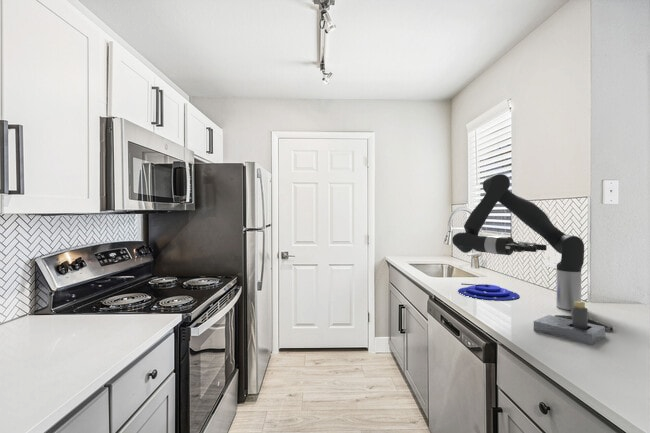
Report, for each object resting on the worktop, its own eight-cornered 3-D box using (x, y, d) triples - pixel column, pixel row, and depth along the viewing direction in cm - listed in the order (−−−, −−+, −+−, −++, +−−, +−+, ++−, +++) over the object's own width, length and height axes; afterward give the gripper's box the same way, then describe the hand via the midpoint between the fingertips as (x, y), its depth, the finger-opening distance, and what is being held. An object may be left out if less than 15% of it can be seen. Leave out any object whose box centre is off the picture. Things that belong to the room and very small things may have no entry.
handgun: (584, 327, 128) (615, 325, 129) (552, 314, 144) (580, 313, 145) (584, 334, 128) (615, 332, 129) (553, 320, 145) (580, 319, 145)
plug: (574, 333, 127) (574, 300, 127) (589, 336, 124) (589, 302, 123) (569, 335, 124) (569, 301, 124) (584, 339, 121) (584, 304, 121)
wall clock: (533, 288, 179) (485, 292, 170) (533, 299, 179) (485, 304, 170) (489, 278, 207) (446, 281, 198) (489, 287, 207) (446, 290, 198)
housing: (548, 323, 138) (548, 314, 138) (605, 336, 123) (605, 326, 123) (533, 330, 130) (533, 320, 130) (592, 345, 116) (592, 334, 116)
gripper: (490, 237, 142) (533, 239, 129) (507, 235, 151) (549, 237, 138) (490, 255, 142) (532, 259, 129) (507, 253, 151) (549, 256, 138)
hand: (541, 248), depth 134 cm, fingers open, 8 cm apart
